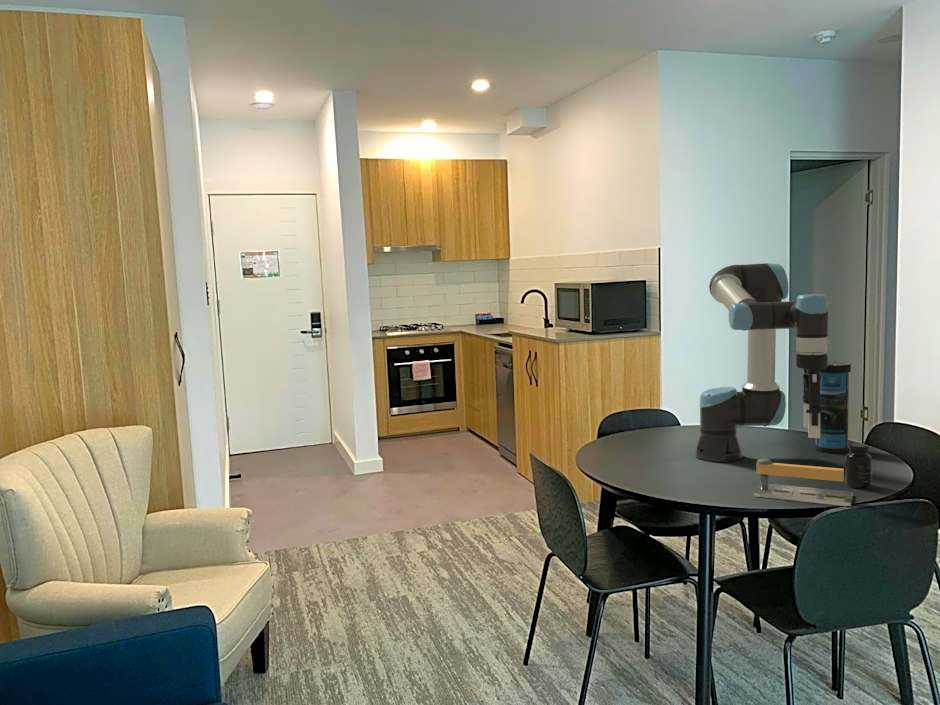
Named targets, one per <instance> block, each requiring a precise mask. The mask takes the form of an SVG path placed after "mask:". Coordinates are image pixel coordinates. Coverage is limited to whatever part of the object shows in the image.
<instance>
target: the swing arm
mask: <svg viewBox="0 0 940 705" xmlns="http://www.w3.org/2000/svg"><path fill="white" fill-rule="evenodd" d="M755 470H756V471H755V472H756V474H757V475H761V474H766V475H768V476H775V477H776V476H778V477H779V476H780V477H786V478H787V477H788V478H789V477H790V478H798V479H799V478H800V479H811V480H812V479H813V480H821V481H833V482H842V483H843V482H844V481H845V480H844V479H845V471H844V470H845V469H844V468H839V467H824V466H814V465H804V464H803V465H801V464H792V463H791V464H790V463H780V462H772V460H771V459H769V458H758V459H757V461H756V468H755Z"/></svg>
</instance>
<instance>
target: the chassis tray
mask: <svg viewBox="0 0 940 705" xmlns="http://www.w3.org/2000/svg"><path fill="white" fill-rule="evenodd" d="M853 493H854V492H853V491H847V490H836V489H828V488H816V487H807V486H796V485H786V484H775V483H769V475H766V474H760V482H759V484H758V486H756V489H755V490H754V492H753V497H755V498H765V499H772V500H773V499H775V500H776V499H777V500H783V501H792V502H802V503H809V504H810V503H811V504H818V505H819V504H820V505H828V506H829V505H831V506H838V507H847V506H850V507H851V505H852V502H853V501H852V500H853Z"/></svg>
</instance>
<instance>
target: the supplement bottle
mask: <svg viewBox="0 0 940 705" xmlns="http://www.w3.org/2000/svg"><path fill="white" fill-rule="evenodd" d="M848 450H849V451H848V452H847V454H846V455H845V462H844V463H845V469H844V470H845V471H844V479H845V480H844V481H845V486H847V487H849V488H852V489H858V490H867V489H870V488H872V486H873V457H872V456H871V454H869V451H870V450H869V445H868V444H866V443H859V442H856V443H855V442H853V443H850V444H849V448H848Z"/></svg>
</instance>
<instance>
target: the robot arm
mask: <svg viewBox="0 0 940 705" xmlns="http://www.w3.org/2000/svg"><path fill="white" fill-rule="evenodd" d="M708 288H709V293H710V295H711V296H712V298H713V299H714V300H715V301H716V302H717V303H720V304H723V306H725V308H726V309H727V311H728V323H729V326H730V329H731V330H734V331H747V368H746V370H747V376H746V377H747V378H746V382H745V383H743V384H742V385H741V387H742V388H741V391H737V389H736V387H734V386H722V387H715V388H710V389H706V390H704V391H703V392H701V394H700V397H699V416H700V418H699V424H700V425H699V427H700V428H699V430H700V433H699V436H698V440H697V442H696V447H695V451H694V456H695V458H696V459H699V460H702V461H707V462H716V463H724V462H725V463H730V462H737V461H740V460H742V458H743V450H742V448H741V445H740V441H739V438H738V436H737V429H738V428H737V427H768V426H771V427H772V426H777V425H779V424H780V423H781V422H782V421H783V419H784V417H785V413H786V408H787V401H786V395H785V392H783V391H782V390H780V385H779V384H778V383H776V346H777V345H776V344H777V341H776V340H777V338H776V336H777V330H786V329H787V330H789V329H796V337H795V340H796V341H795V343H796V344H795V351H796V353H797V354H796V355H795V356H796V362H795V363H796V368H798V369H803V373H804V374H802V378H803V379H802V381H803V395H802V399H803V428H807V429H808V432H807V434H808V436H807V437H808V438H809V439H816V438H820V412H821V399H820V381H821V376H820V374H818V369H825V368H827V366H828V362H829V359H828V358H829V357H828V354H827V352H828V350H829V349H828V345H830V344H831V340H830V339H829V340H828V336H829V329H828V328H829V309H830V308H829V307H830V306H829V301H828V296H827V295H826V294H822V293H821V294H801V295H800V294H799V295H798V296H797V298H796V300H791V301H782V300H785V299H787V298H788V296H789V280H788V276H787V273H786V270H785V269H784V267H783V266H782V265H781V264H780V263H768V262H767V263H751V264H748V263H747V264H731V265H729V266H727V265H726V266H725V267H723V268H721V269H720V270H718V271H716V273H714V274H713V276H712V278H711V279H710V282H709V285H708Z"/></svg>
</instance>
